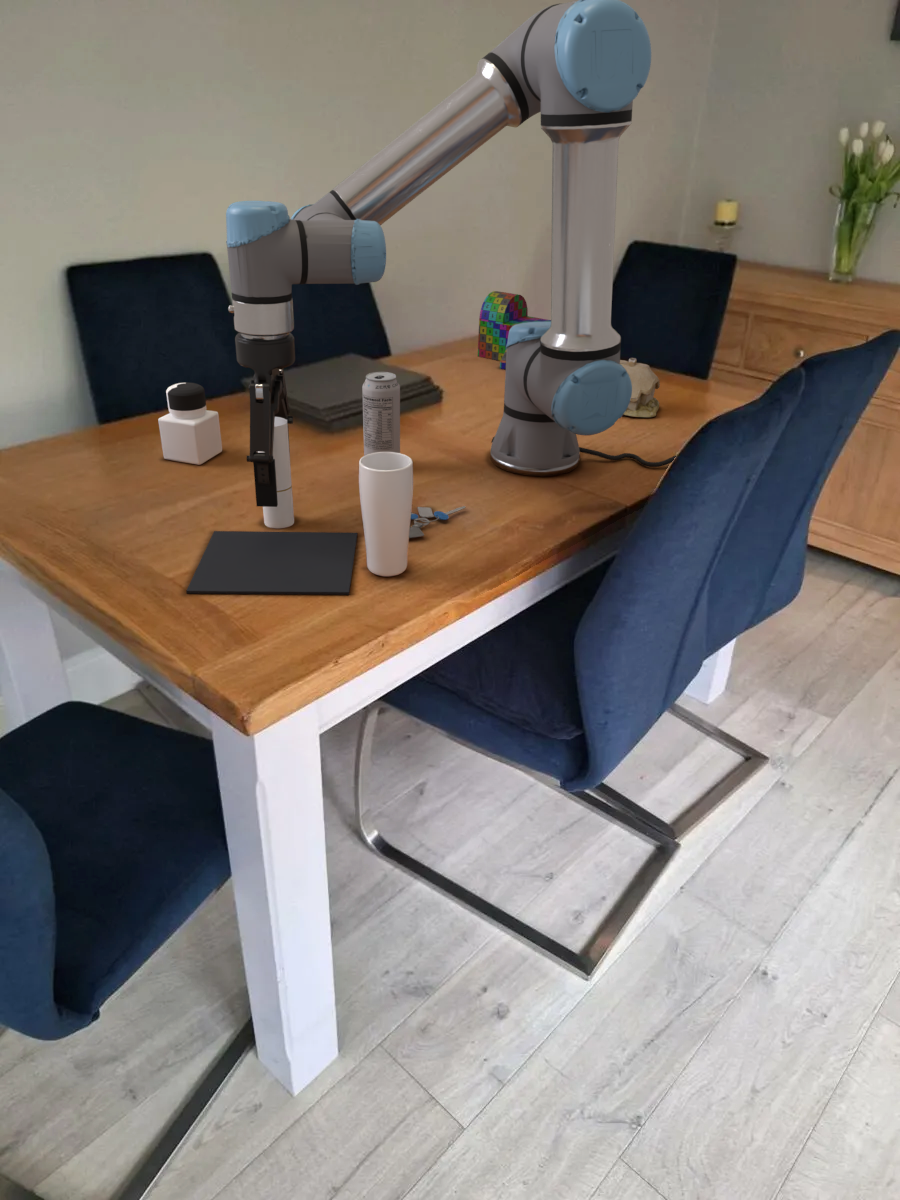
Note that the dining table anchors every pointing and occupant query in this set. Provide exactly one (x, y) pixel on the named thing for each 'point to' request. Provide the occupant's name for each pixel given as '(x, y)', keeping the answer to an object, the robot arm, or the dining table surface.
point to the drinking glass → (386, 510)
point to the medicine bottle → (189, 426)
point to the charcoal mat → (276, 563)
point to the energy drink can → (381, 413)
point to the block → (500, 323)
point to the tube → (281, 479)
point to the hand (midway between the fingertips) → (274, 486)
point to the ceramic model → (641, 389)
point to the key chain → (425, 513)
